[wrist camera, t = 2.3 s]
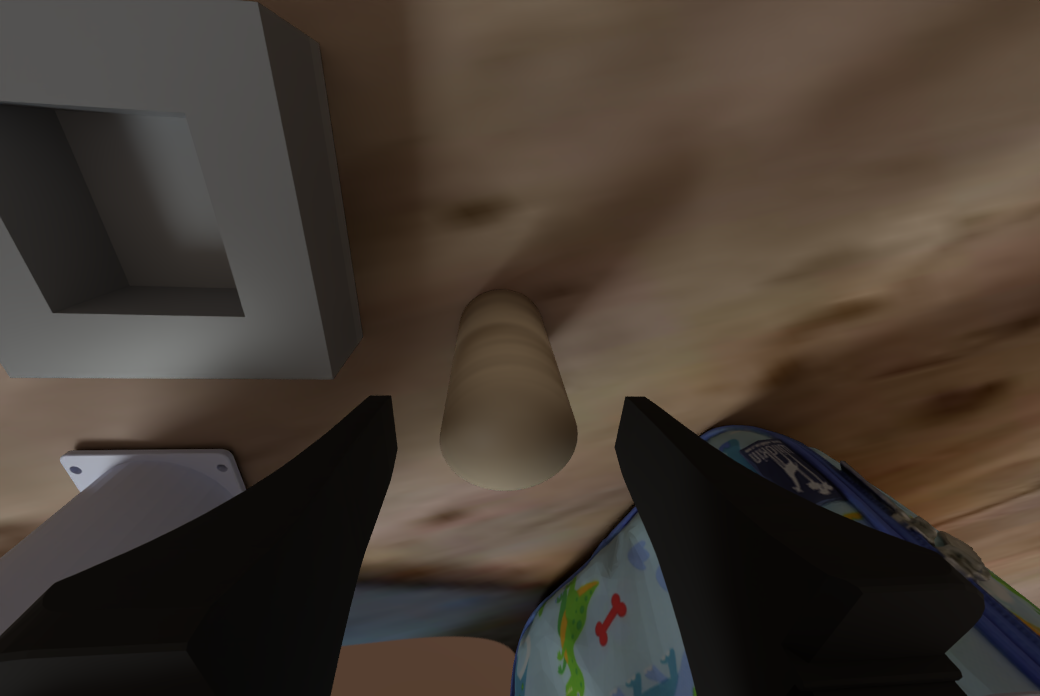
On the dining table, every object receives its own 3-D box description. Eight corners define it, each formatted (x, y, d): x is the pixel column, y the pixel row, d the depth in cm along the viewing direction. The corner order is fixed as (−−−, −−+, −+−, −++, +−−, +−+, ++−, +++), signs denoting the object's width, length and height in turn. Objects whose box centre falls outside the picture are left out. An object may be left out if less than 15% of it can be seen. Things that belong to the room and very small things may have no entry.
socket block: (362, 336, 18) (333, 379, 14) (107, 332, 17) (10, 377, 13) (318, 43, 13) (257, 1, 9) (-49, 12, 12) (-265, -45, 8)
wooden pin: (539, 366, 19) (569, 489, 12) (460, 365, 19) (442, 491, 12) (545, 290, 17) (585, 383, 10) (458, 288, 17) (436, 382, 10)
